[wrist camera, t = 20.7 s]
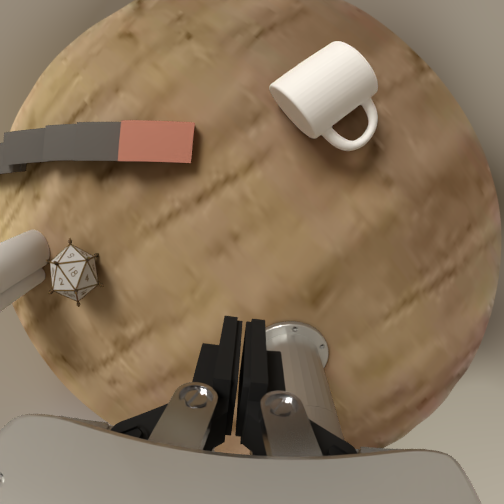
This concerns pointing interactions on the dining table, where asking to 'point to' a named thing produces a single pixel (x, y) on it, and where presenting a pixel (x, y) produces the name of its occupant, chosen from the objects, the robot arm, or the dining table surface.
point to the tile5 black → (7, 168)
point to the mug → (328, 93)
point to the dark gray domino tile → (59, 142)
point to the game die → (73, 273)
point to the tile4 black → (23, 146)
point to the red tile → (156, 141)
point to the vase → (21, 265)
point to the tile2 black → (97, 141)
